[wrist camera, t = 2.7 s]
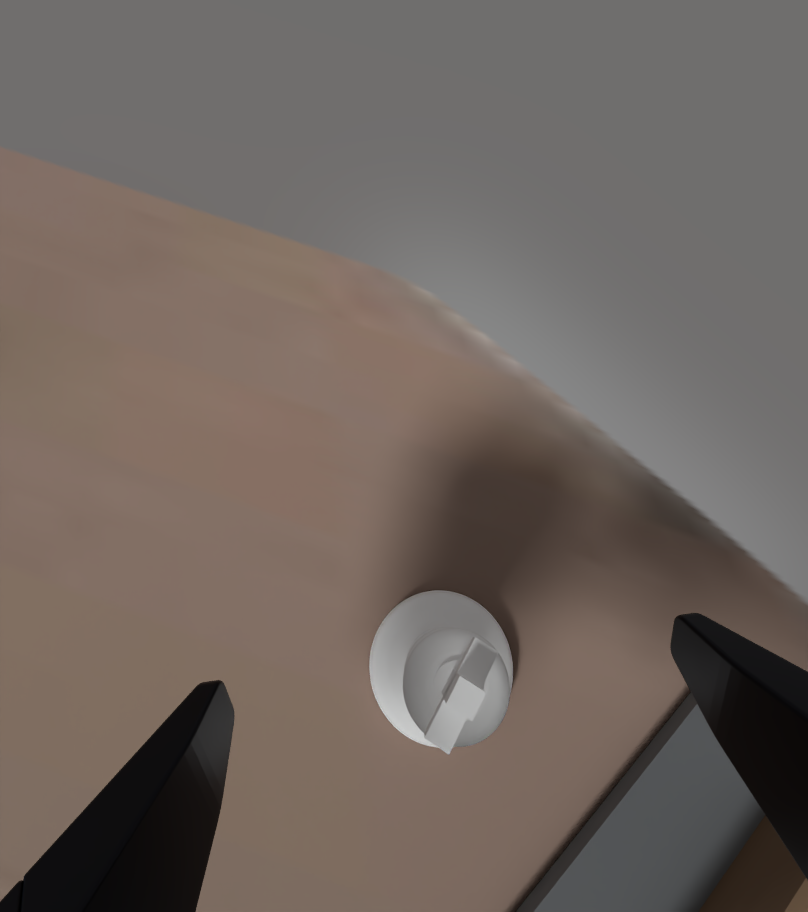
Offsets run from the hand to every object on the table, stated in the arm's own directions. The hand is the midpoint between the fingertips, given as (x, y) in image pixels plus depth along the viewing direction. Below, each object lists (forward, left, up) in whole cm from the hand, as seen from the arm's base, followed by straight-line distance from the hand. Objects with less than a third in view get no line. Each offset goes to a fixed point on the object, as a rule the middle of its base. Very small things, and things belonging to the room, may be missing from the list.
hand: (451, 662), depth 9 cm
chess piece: (0, 0, -8) cm, 8 cm away
